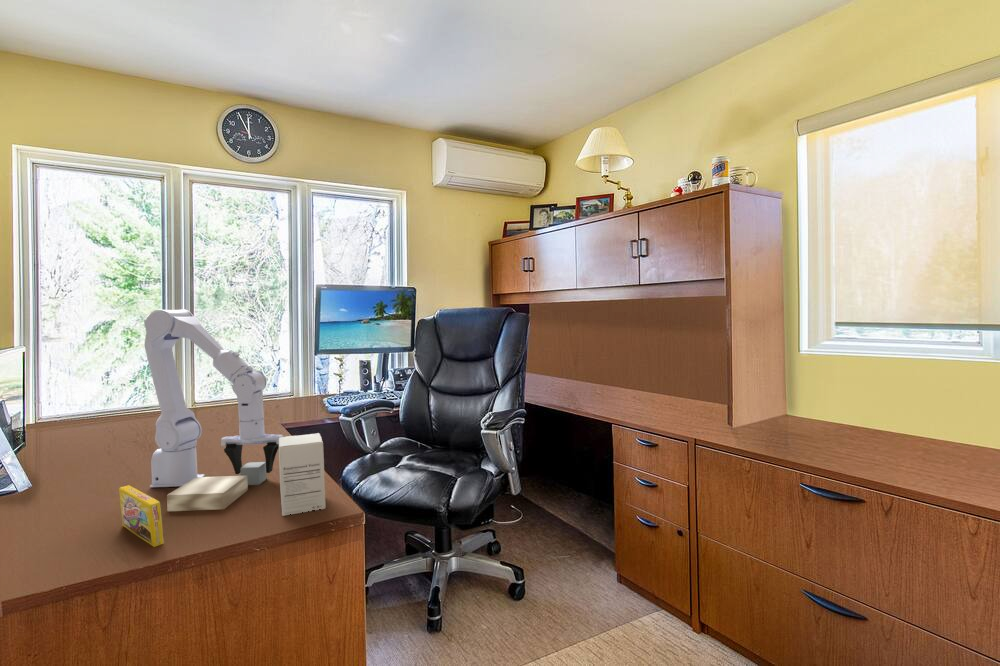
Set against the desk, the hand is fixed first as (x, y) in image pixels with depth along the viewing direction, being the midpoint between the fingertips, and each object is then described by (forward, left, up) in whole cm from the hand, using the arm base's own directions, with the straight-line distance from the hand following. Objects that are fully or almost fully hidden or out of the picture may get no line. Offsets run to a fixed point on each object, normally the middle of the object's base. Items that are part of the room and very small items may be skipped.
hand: (254, 472), depth 130 cm
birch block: (-5, -12, -3) cm, 13 cm away
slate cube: (0, 0, -3) cm, 3 cm away
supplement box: (+18, -18, -3) cm, 26 cm away
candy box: (-9, -30, -3) cm, 31 cm away
